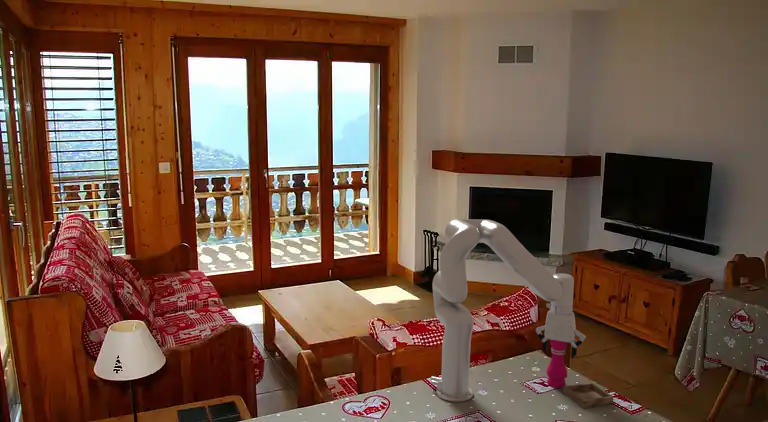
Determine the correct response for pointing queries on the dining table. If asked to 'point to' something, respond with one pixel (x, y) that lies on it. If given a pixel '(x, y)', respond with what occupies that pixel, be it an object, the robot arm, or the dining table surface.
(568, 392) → the walnut tray
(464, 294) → the robot arm
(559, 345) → the magenta pepper mill
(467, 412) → the dining table surface
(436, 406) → the dining table surface
